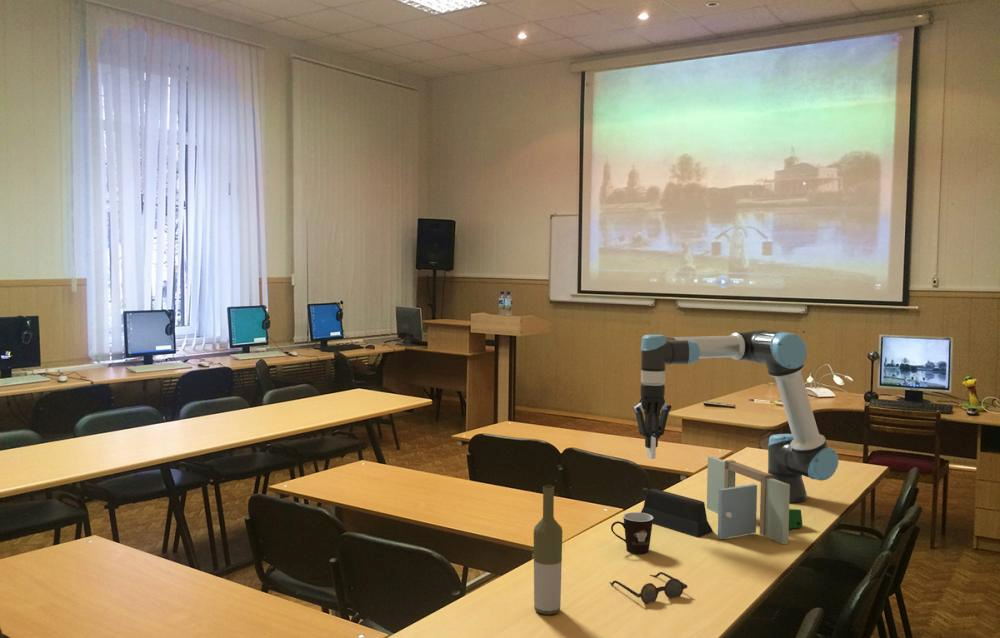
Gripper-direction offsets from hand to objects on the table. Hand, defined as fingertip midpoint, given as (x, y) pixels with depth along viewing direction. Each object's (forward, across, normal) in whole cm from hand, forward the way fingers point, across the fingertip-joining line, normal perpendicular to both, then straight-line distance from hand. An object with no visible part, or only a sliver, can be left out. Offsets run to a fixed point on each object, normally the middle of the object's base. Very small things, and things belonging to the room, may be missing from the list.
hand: (651, 457), depth 240 cm
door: (+22, -21, +17) cm, 35 cm away
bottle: (+23, +55, +44) cm, 74 cm away
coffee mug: (+23, +15, +15) cm, 31 cm away
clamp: (+23, -41, +12) cm, 49 cm away
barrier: (+23, -9, 0) cm, 25 cm away
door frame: (+23, -31, +8) cm, 39 cm away
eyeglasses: (+24, +26, +41) cm, 54 cm away
